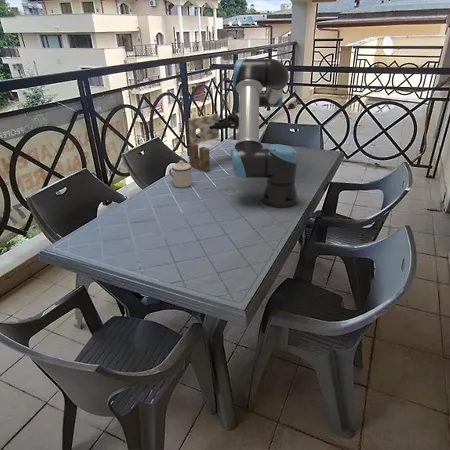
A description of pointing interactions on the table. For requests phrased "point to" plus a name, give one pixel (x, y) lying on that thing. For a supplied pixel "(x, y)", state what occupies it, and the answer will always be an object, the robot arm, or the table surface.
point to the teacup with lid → (181, 174)
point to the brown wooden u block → (197, 162)
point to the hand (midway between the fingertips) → (201, 127)
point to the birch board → (199, 123)
